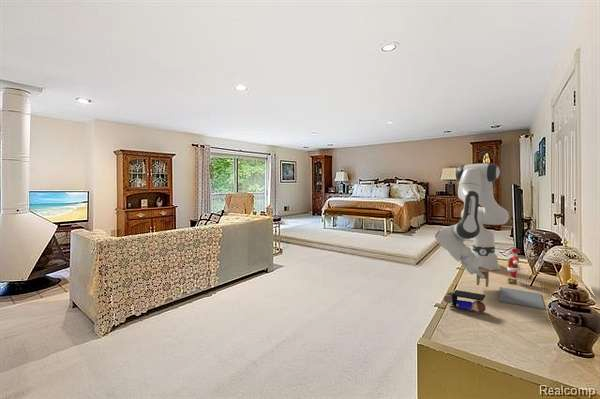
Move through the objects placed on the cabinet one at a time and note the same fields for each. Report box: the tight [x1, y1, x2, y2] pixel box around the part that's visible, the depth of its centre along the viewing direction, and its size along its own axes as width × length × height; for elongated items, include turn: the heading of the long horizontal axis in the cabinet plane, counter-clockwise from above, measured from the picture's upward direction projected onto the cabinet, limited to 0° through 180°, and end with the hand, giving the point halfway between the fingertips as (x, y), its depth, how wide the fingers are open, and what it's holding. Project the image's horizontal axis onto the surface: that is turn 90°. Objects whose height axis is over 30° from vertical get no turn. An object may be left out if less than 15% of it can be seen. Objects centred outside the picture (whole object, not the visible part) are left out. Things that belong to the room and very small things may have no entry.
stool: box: [476, 267, 490, 288], centre depth 143 cm, size 5×5×8 cm
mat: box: [498, 286, 546, 311], centre depth 132 cm, size 20×16×1 cm
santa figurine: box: [506, 247, 521, 285], centre depth 152 cm, size 25×6×19 cm, turn 144°
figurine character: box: [443, 289, 486, 314], centre depth 122 cm, size 7×8×15 cm
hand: (484, 275), depth 142 cm, fingers closed on stool, 5 cm apart
